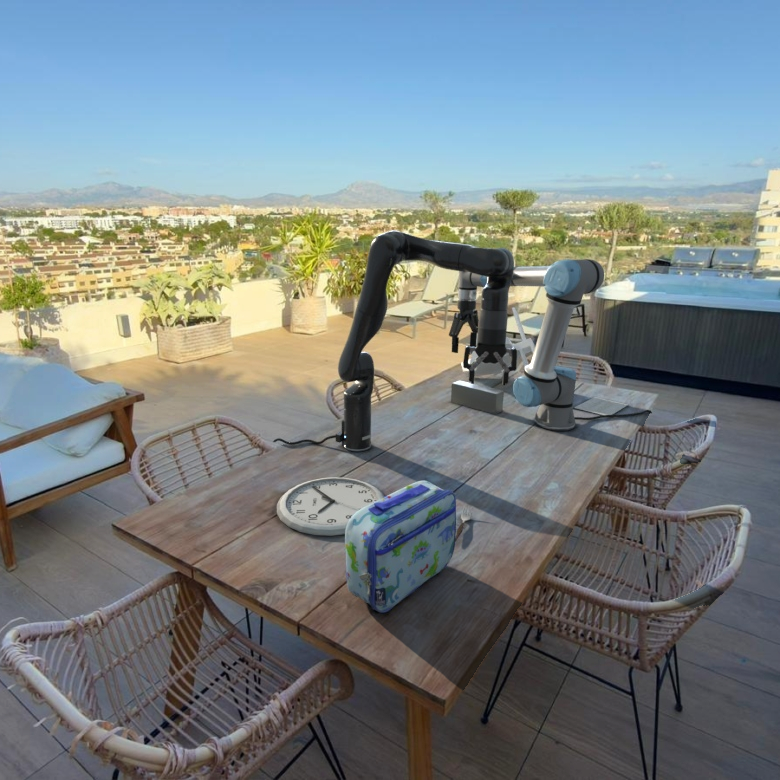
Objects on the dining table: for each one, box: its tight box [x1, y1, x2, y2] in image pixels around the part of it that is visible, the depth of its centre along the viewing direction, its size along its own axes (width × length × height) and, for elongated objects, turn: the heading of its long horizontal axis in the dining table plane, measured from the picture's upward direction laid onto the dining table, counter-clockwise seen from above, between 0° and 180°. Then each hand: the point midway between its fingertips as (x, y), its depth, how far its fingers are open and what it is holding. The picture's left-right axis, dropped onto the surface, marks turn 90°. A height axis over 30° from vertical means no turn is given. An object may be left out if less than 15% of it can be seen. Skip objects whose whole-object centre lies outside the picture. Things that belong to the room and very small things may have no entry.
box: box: [450, 380, 505, 415], centre depth 223 cm, size 22×6×9 cm, turn 49°
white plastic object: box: [460, 306, 536, 378], centre depth 259 cm, size 37×45×31 cm
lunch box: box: [344, 480, 457, 614], centre depth 109 cm, size 26×11×21 cm, turn 135°
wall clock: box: [276, 476, 386, 537], centre depth 142 cm, size 30×2×30 cm
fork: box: [455, 504, 474, 543], centre depth 133 cm, size 3×16×2 cm, turn 160°
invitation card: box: [573, 396, 629, 416], centre depth 226 cm, size 21×1×15 cm
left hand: (488, 384), depth 144 cm, fingers open, 8 cm apart
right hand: (463, 350), depth 222 cm, fingers open, 13 cm apart
